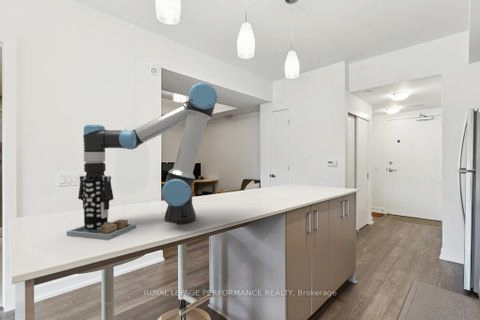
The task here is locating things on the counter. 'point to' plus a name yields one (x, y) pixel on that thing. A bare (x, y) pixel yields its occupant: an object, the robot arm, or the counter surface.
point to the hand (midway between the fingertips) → (96, 216)
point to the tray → (98, 232)
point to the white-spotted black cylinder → (93, 204)
